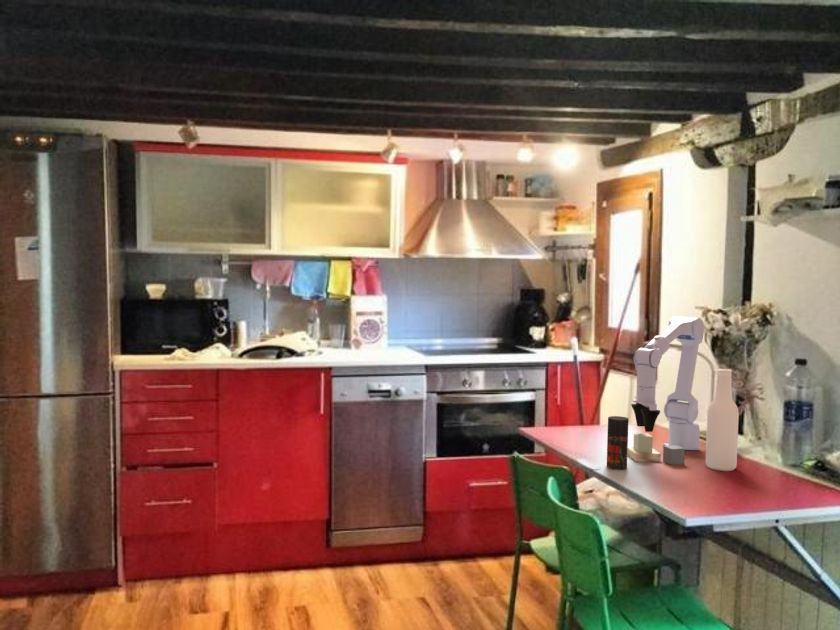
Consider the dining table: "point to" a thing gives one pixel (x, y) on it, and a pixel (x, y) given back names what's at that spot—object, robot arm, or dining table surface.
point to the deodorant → (617, 442)
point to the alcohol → (722, 426)
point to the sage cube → (643, 442)
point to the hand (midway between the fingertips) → (644, 428)
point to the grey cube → (673, 454)
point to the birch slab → (644, 455)
